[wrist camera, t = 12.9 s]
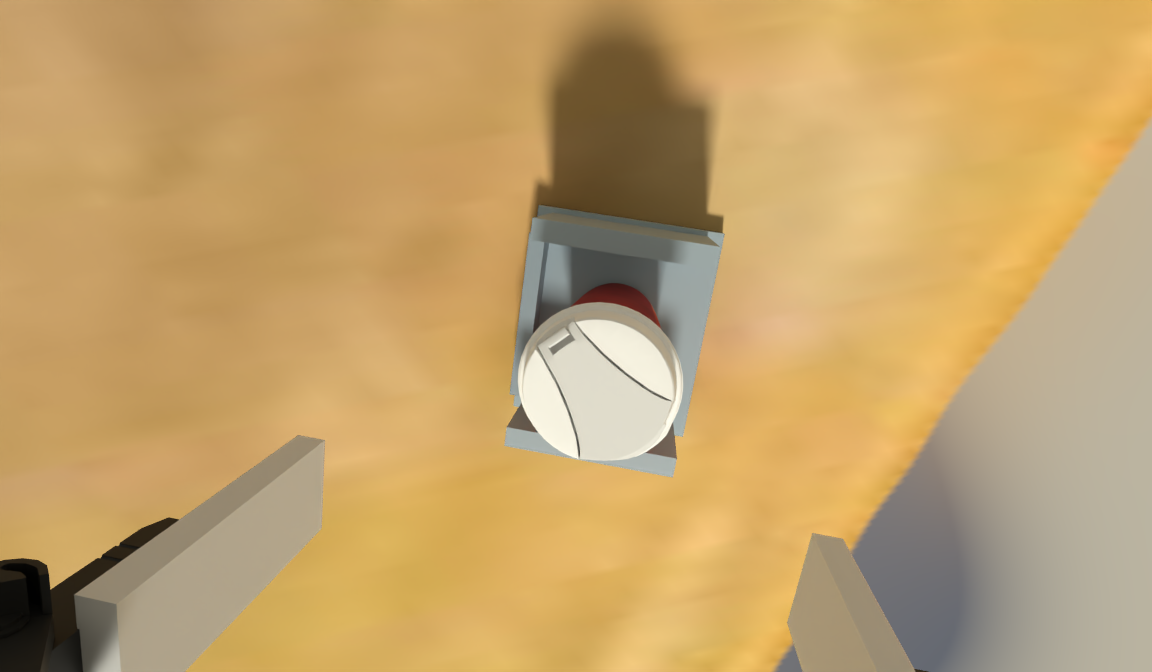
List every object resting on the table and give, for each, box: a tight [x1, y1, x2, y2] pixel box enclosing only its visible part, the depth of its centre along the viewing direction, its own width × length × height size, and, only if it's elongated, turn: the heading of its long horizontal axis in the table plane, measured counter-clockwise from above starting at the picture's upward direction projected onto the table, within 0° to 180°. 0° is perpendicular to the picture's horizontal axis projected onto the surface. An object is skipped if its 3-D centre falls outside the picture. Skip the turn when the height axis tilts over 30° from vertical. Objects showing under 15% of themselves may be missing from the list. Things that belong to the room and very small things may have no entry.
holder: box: [505, 205, 724, 477], centre depth 37 cm, size 14×12×8 cm
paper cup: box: [518, 283, 683, 461], centre depth 33 cm, size 8×8×14 cm
